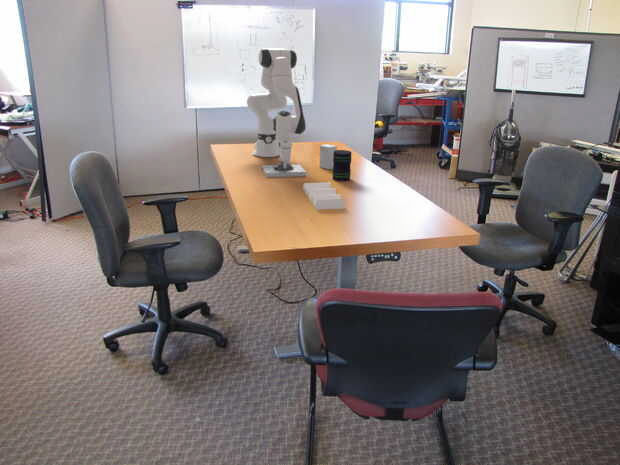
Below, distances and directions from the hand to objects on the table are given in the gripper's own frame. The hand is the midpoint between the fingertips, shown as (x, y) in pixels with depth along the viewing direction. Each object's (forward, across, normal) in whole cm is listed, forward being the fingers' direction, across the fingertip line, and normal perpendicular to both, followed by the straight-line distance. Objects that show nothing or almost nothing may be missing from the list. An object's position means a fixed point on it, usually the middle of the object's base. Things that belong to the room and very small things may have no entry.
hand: (283, 166), depth 287 cm
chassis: (+4, 0, 0) cm, 4 cm away
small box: (+4, -10, +28) cm, 30 cm away
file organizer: (+4, +50, +11) cm, 51 cm away
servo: (+3, 0, 0) cm, 3 cm away
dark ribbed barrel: (+4, +17, +29) cm, 34 cm away
